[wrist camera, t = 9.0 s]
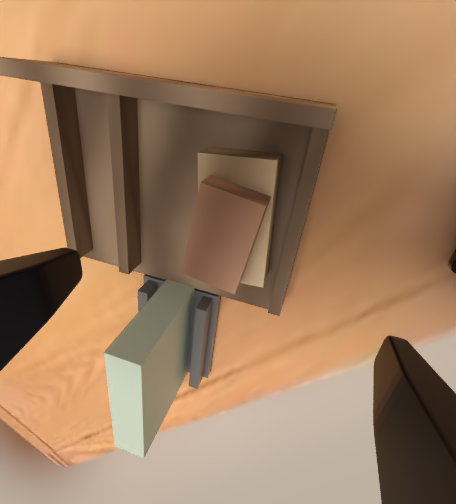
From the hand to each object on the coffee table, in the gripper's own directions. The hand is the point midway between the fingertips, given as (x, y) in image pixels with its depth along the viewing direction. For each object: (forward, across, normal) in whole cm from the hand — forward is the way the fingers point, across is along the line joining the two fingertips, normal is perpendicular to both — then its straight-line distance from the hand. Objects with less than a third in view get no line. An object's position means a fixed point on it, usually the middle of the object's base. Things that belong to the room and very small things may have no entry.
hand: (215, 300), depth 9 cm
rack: (+12, +7, +2) cm, 14 cm away
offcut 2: (+10, +2, +3) cm, 10 cm away
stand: (+12, +6, +14) cm, 20 cm away
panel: (+12, +6, +14) cm, 19 cm away
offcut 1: (+12, +2, +2) cm, 12 cm away
